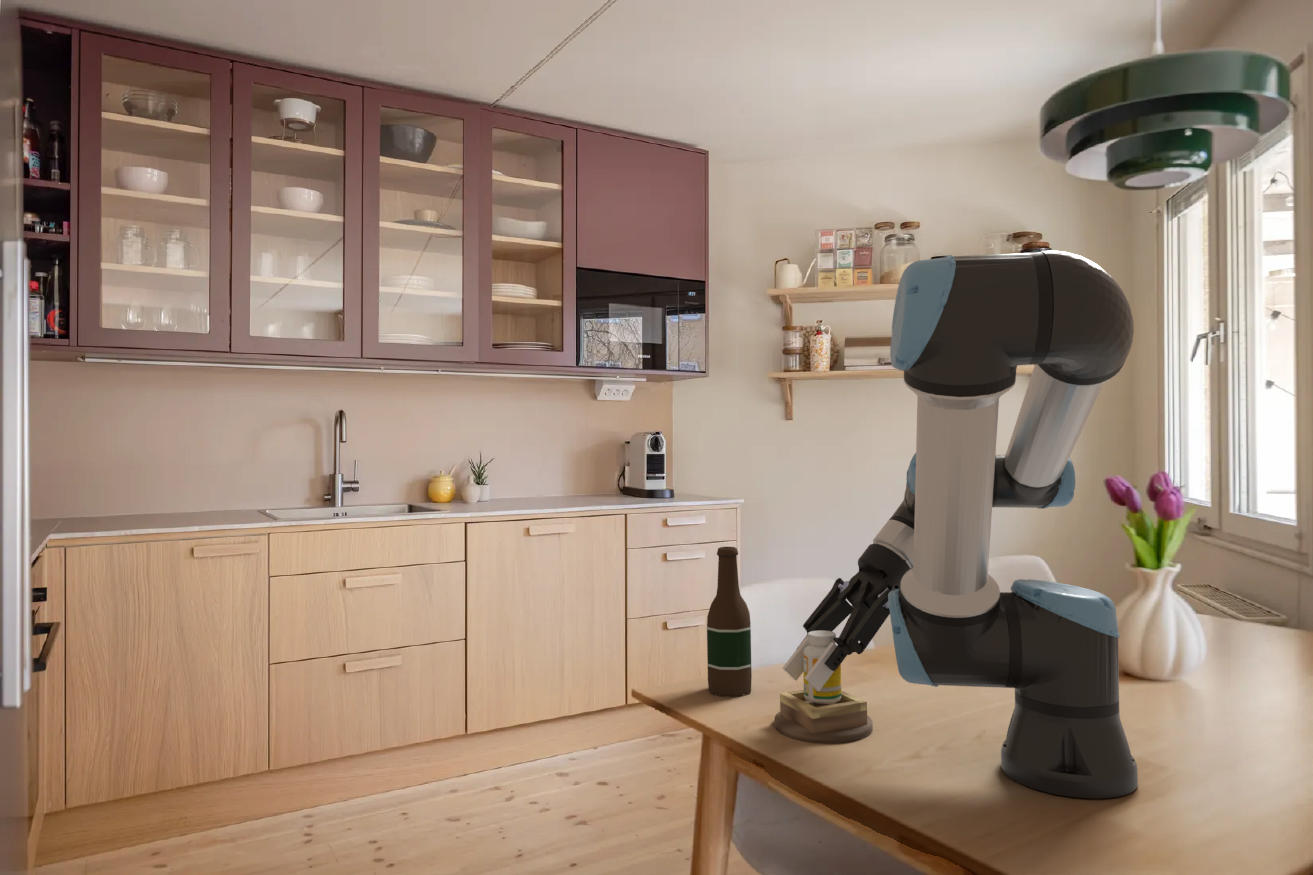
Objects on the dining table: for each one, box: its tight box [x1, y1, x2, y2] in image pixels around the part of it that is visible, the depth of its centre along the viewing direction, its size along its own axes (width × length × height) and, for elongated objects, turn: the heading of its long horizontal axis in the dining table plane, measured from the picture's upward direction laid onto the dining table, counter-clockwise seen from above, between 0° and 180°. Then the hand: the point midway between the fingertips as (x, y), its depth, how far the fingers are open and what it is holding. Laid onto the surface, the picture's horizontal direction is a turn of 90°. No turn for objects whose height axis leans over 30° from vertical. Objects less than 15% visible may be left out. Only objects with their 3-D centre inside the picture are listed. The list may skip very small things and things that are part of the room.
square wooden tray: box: [774, 689, 874, 744], centre depth 126 cm, size 14×14×4 cm
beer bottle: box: [706, 546, 753, 697], centre depth 145 cm, size 8×8×24 cm
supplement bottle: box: [803, 630, 842, 704], centre depth 126 cm, size 5×5×10 cm
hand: (800, 679), depth 124 cm, fingers closed on supplement bottle, 5 cm apart
